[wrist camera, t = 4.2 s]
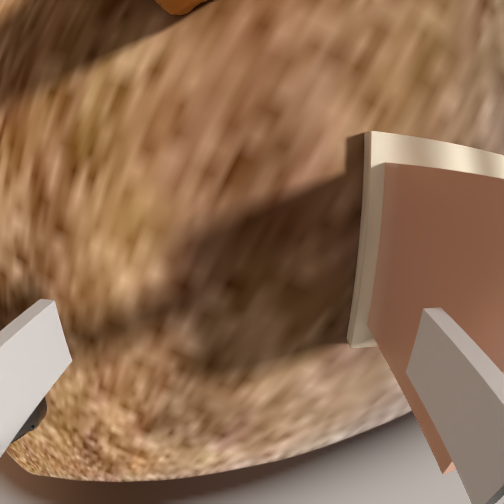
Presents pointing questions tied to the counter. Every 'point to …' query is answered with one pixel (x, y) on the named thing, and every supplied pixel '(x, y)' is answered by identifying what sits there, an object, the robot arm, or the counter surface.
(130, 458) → the counter surface
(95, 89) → the counter surface
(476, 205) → the salmon pink block
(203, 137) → the counter surface
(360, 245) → the birch board
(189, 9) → the coffee package
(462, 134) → the counter surface
